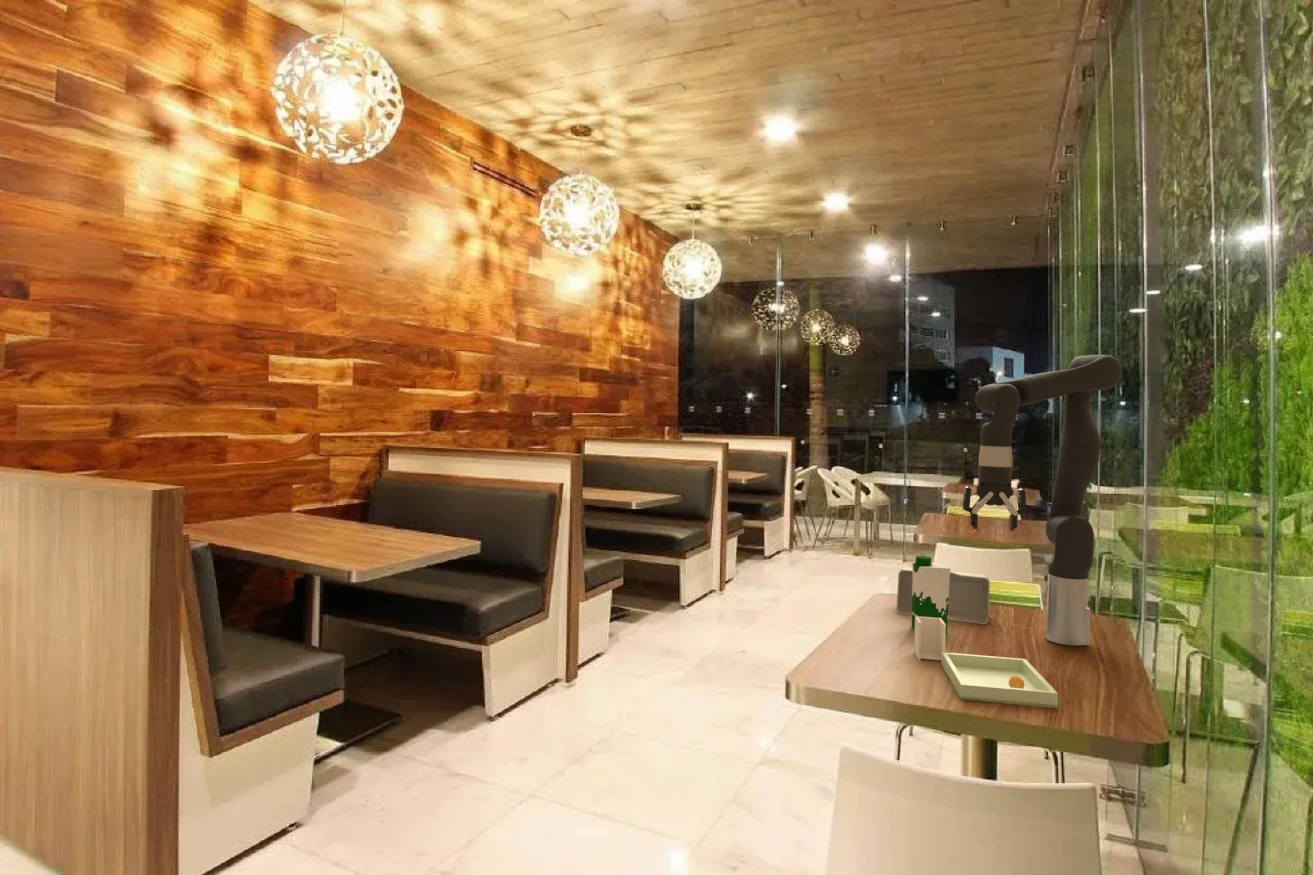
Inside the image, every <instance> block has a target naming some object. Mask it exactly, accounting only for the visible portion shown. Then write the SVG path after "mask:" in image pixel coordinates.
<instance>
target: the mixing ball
mask: <svg viewBox="0 0 1313 875" xmlns="http://www.w3.org/2000/svg"><path fill="white" fill-rule="evenodd" d="M1009 686H1010V687H1011V688H1022V689H1023V688H1024V686H1025V683H1024V681H1023V679H1022V678H1020V677H1018V676H1013V677H1011V678H1010V679H1009Z"/></svg>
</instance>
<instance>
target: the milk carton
mask: <svg viewBox="0 0 1313 875" xmlns="http://www.w3.org/2000/svg"><path fill="white" fill-rule="evenodd" d="M911 568H912V574H913V584H912V615H911V628H913V629H914V630H915V616H918V617H932V618H941V619H942V620H943V621H944V623H945V624H946V636H947V634H948V621H949V620H948V603H949V579H950V572H951V568H950V567H948V566H947V565H945V564H943V563H939V562H932V557H930V556H925V555H918V556H917V555H916V556H915V562H914V561H912V562H911Z"/></svg>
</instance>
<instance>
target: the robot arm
mask: <svg viewBox="0 0 1313 875" xmlns="http://www.w3.org/2000/svg"><path fill="white" fill-rule="evenodd" d="M1122 373H1123V370H1122V365H1121V362H1120V361H1119V360H1118V359H1117V358H1115V356H1111V355H1109V354H1108V355H1107V354H1091V355H1080V356H1079V355H1078V356H1076V357H1074V358H1073V359H1072V360H1071V361H1070V362H1069V365H1068V367H1067V369H1062V370H1054V371H1046V372H1041V373H1034V374H1031V375H1027V376H1023V377H1020V378H1017V379H1014V380H1007V381H1001V382H995V383H990V384H987V385H984V386H982V387H981V388H979V390H978V391H977V392H976V394H975V397H974V399H975V400H974V402H975V405H976V406H977V408H978V409H979V410H981V411H982V412H984V413H987V414H989V413H990V414H992V417H991V420H990V421H989V422H985V423H983V424H982V425H981V429H980V447H979V454H978V473H977V474H978V475H977V476H978V477H977V478H978V479H977V482H978V483H977V486H976V487H970V486H964V488H963V498H962V510H963V511H965V512H968V513H969V525H970V526H971V527H972V529H973V530H978V521H979V519H978V518H979V514H978V512H979V511H980V510H981V509H982V508H983V507H984V506H985V505H986V506H999V507H1000V506H1004V507H1005V508H1006V509H1007V511H1008V512H1009V513H1010V514H1009V516H1008V519H1009V520H1008V530H1009V531H1011V532H1014V531H1015V529H1017V527H1018V517H1019V515H1022V514H1023V515H1024V514H1026V513H1027V503H1026V502H1027V501H1026V500H1027V497H1026V493H1027V492H1026V490H1025V489H1023V488H1018V489H1014V488H1012V479H1013V478H1012V475H1013V474H1012V473H1013V451H1012V446H1013V445H1012V443H1013V440H1012V438H1013V437H1012V436H1013V428H1014V426H1015V423H1016V420H1017V416H1018V414H1019V411H1020V406H1029V405H1033V404H1035V403H1040V402H1043V401H1047V400H1051V399H1054V398H1058V397H1062V396H1065V406H1064V407H1065V408H1064V409H1065V410H1064V417H1063V426H1062V434H1061V440H1060V445H1059V451H1058V460H1057V466H1056V475H1055V483H1054V491H1053V496H1052V501H1051V505H1050V509H1049V511H1048V515H1047V519H1046V523H1045V534H1046V538H1047V539H1048V541H1049V542H1050V543H1051V544H1052V545H1054V554H1053V555H1054V556H1053V560H1052V561H1051V562H1050V563H1049V564H1048V568H1047V570H1048V572H1047V573H1048V574H1047V597H1046V598H1047V600H1046V601H1047V602H1046V621H1045V622H1046V626H1045V627H1046V628H1045V639H1046V640H1048V641H1050V642H1053V643H1055V644H1060V645H1065V646H1072V647H1073V646H1075V647H1078V646H1090V635H1091V634H1090V629H1091V628H1090V627H1091V608H1090V607H1089V606H1088V605H1089V603H1088V602H1089V601H1088V600H1089V598H1088V597H1089V574H1090V571H1091V568H1092V566H1093V561H1094V560H1093V559H1094V546H1095V534H1094V529H1093V526H1092V525H1091V523H1090V522H1089V521H1088V520H1087V519H1085V518H1083V517H1082V510H1083V509H1082V508H1083V503H1084V502H1083V501H1084V498H1085V494H1086V491H1087V490H1088V488H1089V486H1090V484H1091V482H1092V481H1093V478H1094V477H1095V475H1096V472H1097V469H1098V465H1099V462H1100V456H1101V455H1100V454H1101V448H1102V441H1101V436H1100V433H1099V430H1098V429H1097V426H1096V424H1095V422H1094V418H1093V416H1092V414H1091V399H1092V398H1091V396H1092V391H1100V392H1101V391H1107V390H1110V389H1112V388H1113V387H1115V386H1117V384H1118V383H1119V382H1120V380H1121V379H1122V375H1123V374H1122ZM975 493H976V494H977V496H978V497H979V498H978V499H977V500H976V501H975V502H974V504H973V506H972V507H971V506H970V505H971V497H973V496H974V494H975ZM1013 495H1014V497H1015V498H1017V508H1015V507H1014V505H1013V503H1012V502H1011V501H1010V498H1011V497H1012V496H1013Z"/></svg>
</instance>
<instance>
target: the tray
mask: <svg viewBox="0 0 1313 875" xmlns="http://www.w3.org/2000/svg"><path fill="white" fill-rule="evenodd" d="M940 662H941V664H940V665H941V667H942V669H943V671H944V672H945V674H946V676H947V677H948V679H949V681H950V683H951V684H952V687H953V689H954V690H955V691H956V694H957V695H958V697H959V698H960V700H963V701H966V700H967V701H973V702H975V701H976V702H985V703H996V704H1007V705H1017V706H1027V707H1037V708H1039V707H1040V708H1048V709H1058V707H1059V706H1058V704H1059V703H1058V702H1059V692H1057V691H1056V689H1054V687H1052V685H1051V684H1050V683H1049V682H1048V681H1047V680H1046V679H1045V678H1044V677H1043V676H1042V675H1041V674H1040V673H1039V672H1038V671H1037V669H1036V668H1034V666H1033V665H1032V664H1031V663H1030V662H1029V661H1028V660H1027V659H1026V658H1017V657H1004V656H994V655H993V656H992V655H982V654H979V655H978V654H971V653H970V654H969V653H957V652H946V651H945V652H942V659H941V660H940ZM1013 676H1018V677H1020V678H1022V679H1023V681H1024V683H1025V686H1024V688H1023V689H1022V688H1011V687H1010V686H1009V679H1010V678H1011V677H1013Z"/></svg>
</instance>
